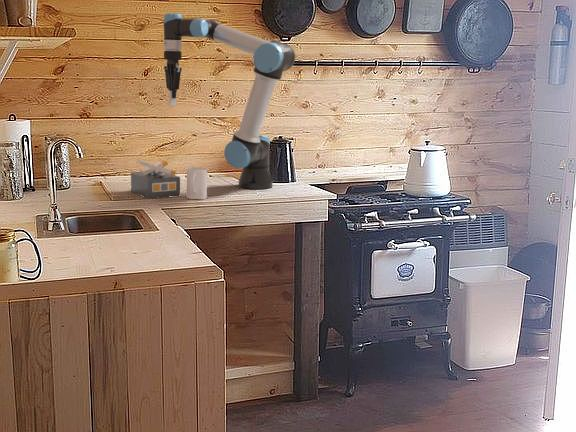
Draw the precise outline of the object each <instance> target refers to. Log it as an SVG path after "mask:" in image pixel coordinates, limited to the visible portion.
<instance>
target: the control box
mask: <svg viewBox="0 0 576 432" xmlns="http://www.w3.org/2000/svg"><path fill="white" fill-rule="evenodd" d="M130 192H132V193H134V194H136V193H137V194H136V195H138V194H139V196H140V195H142V196H144V197H143V198H145V197H146V198H145V199H147V198H155V199H158V198H157V197H167V198H170V197H169V196H178V197H180V196H181V177H180V176H178V175H176V174H175V175H172V174H168V173H164V172H161V171H157V170H155V171H153V172H151V173H148V174H146V175H143V174H141V171H133V172H130ZM179 195H180V196H179ZM142 196H141V197H142Z"/></svg>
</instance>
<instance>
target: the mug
mask: <svg viewBox="0 0 576 432" xmlns="http://www.w3.org/2000/svg"><path fill="white" fill-rule="evenodd" d="M207 176H208V169H207V168H206V167H200V166H199V167H197V166H196V167H195V166H193V167H187V168H186V196H185V198H186V197H187V198H189V199H188V200H192V199H203V200H206V199H208V193H207V192H208V191H207V190H208V189H207V188H208V185H207V184H208V181H207V179H208V177H207ZM187 198H186V199H187Z"/></svg>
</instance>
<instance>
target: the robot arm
mask: <svg viewBox="0 0 576 432" xmlns="http://www.w3.org/2000/svg"><path fill="white" fill-rule="evenodd" d="M183 37H187V38H196V39H197V38H205V39H210V40H212V41H215V42H218V43H221V44H223V45H226V46H228V47H232V48H233V49H237V50H239V51H241V52H244V53H247V54H251V55H253V63H254V69H253V73H254V76H255V77H254V80H253V84H252V87H251V91H250V93H249V96H248V100H247V103H246V105H245V109H244V112H243V116H242V118H241V122H240V125H239V127H238V129H237V130H236V131H234V133H233V136H232V138H231V141H230V142H228V143H227V144H226V145H225V147H224V152H223V154H224V159H225V160H226V163H228V165H230V166H231V167H233V168H235V169H241V173H240V175H239V179H238V187H240V188H242V189H248V190H266V189H272V188H273V178H272V175H271V172H270V154H271V153H270V148H271V147H270V146H271V141H270V137H269V136H268V135H260V132H261V129H262V126H263V122H264V120H265V117H266V114H267V110H268V108H269V104H270V102H271V101H270V100H271V98H272V96H273V92H274V88H275V86H276V84H277V82H280V81H281V80H282V77H283V76H282V75H283V73H284V72H286V71H288V70H290V69H292V67H293V65H294V63H296V62H295V61H296V52H295V51H294V50H295V49H294V48H293V47H292V46H291V45H290V44H287V43H285V42H279V41H277V40H273V39H272V40H269V41H268V40H265V39H263V38H260V37H257V36H254V35H252V34H250V33H246V32H244V31H241V30H238V29H235V28H233V27H230V26H227V25H224V24H221V23H219V22H218V21H216V20H213V19H202V18H183V17H182V14H181V13H172V12H171V13H170V12H168V13H165V14H164V15H163V43H162V44H163V49H164V51H163V59H164V60H166V61H167V62H166V66H163V69H164V74H165V83H166V89H168V92H169V93H168V100H169V101H168V105H169V106H170V107H173V106H174V107H177V91H178V90H179V89H180V85H181V84H180V81H181V73H182V70H183V69H182V67H180V66H179V65H180V64H179V61H181V60H182V56H183V55H182V53H183V52H182V51H181V50H182V46H183V45H182V44H183V43H182V39H183Z"/></svg>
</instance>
